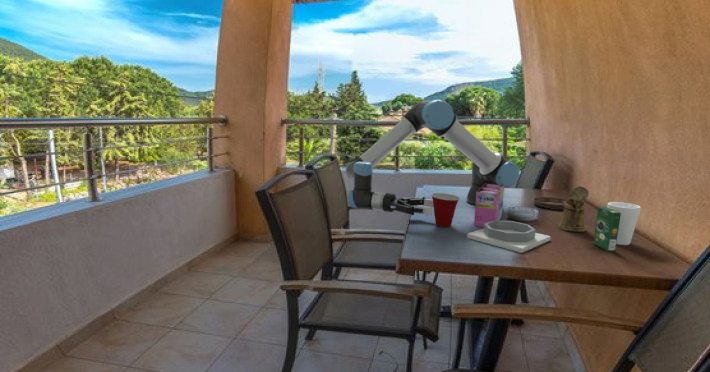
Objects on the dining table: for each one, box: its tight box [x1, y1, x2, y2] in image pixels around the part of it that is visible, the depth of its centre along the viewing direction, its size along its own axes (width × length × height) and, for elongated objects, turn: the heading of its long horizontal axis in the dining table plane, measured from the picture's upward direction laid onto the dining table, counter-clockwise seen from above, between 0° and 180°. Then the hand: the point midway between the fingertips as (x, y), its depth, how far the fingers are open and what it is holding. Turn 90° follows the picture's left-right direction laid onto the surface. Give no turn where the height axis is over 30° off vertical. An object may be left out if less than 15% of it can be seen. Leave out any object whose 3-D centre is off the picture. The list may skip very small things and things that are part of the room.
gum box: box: [473, 183, 505, 228], centre depth 168 cm, size 24×8×14 cm, turn 154°
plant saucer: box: [532, 196, 567, 210], centre depth 195 cm, size 18×18×3 cm
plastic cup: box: [431, 192, 461, 228], centre depth 159 cm, size 11×11×12 cm
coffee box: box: [593, 206, 621, 253], centre depth 134 cm, size 8×3×13 cm, turn 2°
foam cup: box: [606, 201, 642, 246], centre depth 141 cm, size 10×9×13 cm
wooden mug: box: [558, 186, 590, 233], centre depth 153 cm, size 9×14×18 cm, turn 160°
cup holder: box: [466, 220, 551, 253], centre depth 143 cm, size 20×20×4 cm
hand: (436, 207), depth 160 cm, fingers open, 13 cm apart
